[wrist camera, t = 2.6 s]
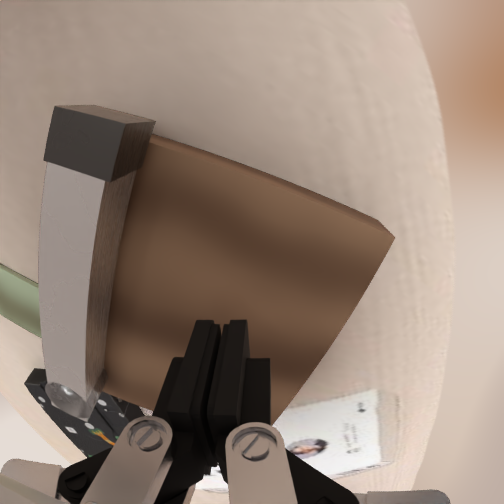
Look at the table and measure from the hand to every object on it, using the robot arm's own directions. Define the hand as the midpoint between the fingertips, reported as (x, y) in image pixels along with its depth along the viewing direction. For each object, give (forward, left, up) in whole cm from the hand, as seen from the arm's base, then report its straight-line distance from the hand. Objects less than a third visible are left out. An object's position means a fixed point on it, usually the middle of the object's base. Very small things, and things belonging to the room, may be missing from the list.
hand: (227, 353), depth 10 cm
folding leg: (+3, -7, -4) cm, 9 cm away
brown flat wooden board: (+4, -9, -7) cm, 12 cm away
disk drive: (+21, -6, -8) cm, 24 cm away
